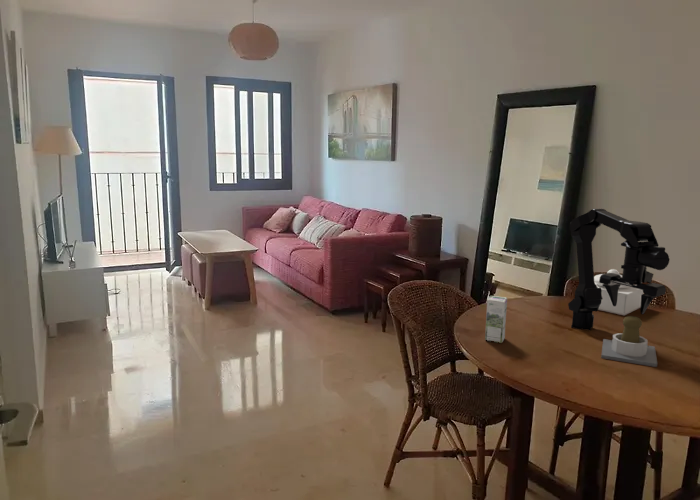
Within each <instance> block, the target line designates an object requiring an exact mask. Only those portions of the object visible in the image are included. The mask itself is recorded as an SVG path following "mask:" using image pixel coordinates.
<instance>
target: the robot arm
mask: <svg viewBox="0 0 700 500" xmlns="http://www.w3.org/2000/svg"><path fill="white" fill-rule="evenodd" d="M602 225H603V226H606V227H607V228H610V229H611V230H613V231H617V232H618V233H619V235H620V237H622V238H623V239H624V240H625V241H623V242H621V243H620V246H621V247H625V252H624V258H623V259H624V261H623V264H622V265H621V266H620V269H622V274H620V275H622V277H621V276H620V275H618V274H614V273H607V272H605V273H601V274H602V275H601V276H600V280H599V282H600V283H603V286H604V287H605V288H606V290H607V292H608V294H609V296H610V299H611V302H612V304H613V306H616V304H617V297H618V289H619V287H620V285H625V286H629V287H633V288H637V289H641V290H643V294H642V295H641V307H640V308H639V309H640V315H644V314H646V313H645V312H646V311H647V309H648V307H649V305H650V304H651V302H652V301H653V300H654V299H655V298H658V297H660V296H664V295H666V290H667V288H666V287H665V285H664V284H660V283H655V282H652V280H653V278H654V273H652V272H650V271H647V268H650V269H654V270H657V271H663V270H665V269H666V268H668V265H669V263H670V258H669V257H670V255H669V254H668V253H667V252H666V247H664V246H659V242H658V240H657V238H656V235H655V234H654V231H653V229H652V225H651V224H650V223H648V222H643V221H637V220H630V219H627V218H624V217H621V216H619V215H617V214H614V213H613V212H610V211H608V210H606V209H605V208H592V209H590V210H588V212H585V213H583V214H581V215H580V216H577V217H575V218H573V219H571V221H570V223H569V231H570V236H571V238H572V239H573V240H574V242H575V244H576V253H577V256H576V257H577V258H576V259H577V272H578V285H577V287H576V289H575V290H574V298H573V299H572V300H570V301H569V302H568V304H567V306H568V310H570V311H571V312H572V321H571V328H572V329H578V330H585V331H591V330H592V328H593V327H594V321H595V320H594V319H595V315H594V314H593V313H594V312H598V311H599V310H598V308H599V306H600V304H601V299H602V295H601V292H602V290H601V288H598V287H597V286H596V284H595V283H594V276H595V273H594V260H593V259H594V257H593V240H594V239H595V237H596V235H597V229H598V228H599V227H601V226H602Z"/></svg>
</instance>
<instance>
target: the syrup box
mask: <svg viewBox="0 0 700 500" xmlns="http://www.w3.org/2000/svg"><path fill="white" fill-rule="evenodd" d="M486 301H487V302H486V316H485V318H486V319H485V333H484V335H485V336H484V341H485V340H487V342H491V341H494V342H493V343H498V342H499V344H502V343H503V342H504V340H505V337H506V320H507V310H508V309H507V308H508V307H507V306H508V297H505V296H498V295H495V296H494V295H489V296H488V298H487V300H486Z"/></svg>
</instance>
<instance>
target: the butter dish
mask: <svg viewBox="0 0 700 500" xmlns="http://www.w3.org/2000/svg"><path fill="white" fill-rule="evenodd" d="M606 273H614V274H618V275H620V276H621V277H622V274H621V273H620V272H619V271H618V270H617V269H616V268H611V269H609V270H608V271H606ZM602 274H603V273H600V274H596V275H594V283H595V284H596V286H597V287H598V288H601V290H602V292H601V295H602V299H601V304H600V306H599V308H598V311H603V312H607V313H611V314H615V315H616V314H617V315H619V316H626V315H628V314H630V313H632V312H634V311H636V310H639V309H641V295H642V294H644V292H643V290H641V289H637V288H633V287H629V286H625V285H620V287H619V289H618V297H617V304H616V306H613V304H612V302H611V299H610V296H609V294H608V292H607V290H606V288H605V287H604V286H603V283H600V282H599V280H600V276H601V275H602Z"/></svg>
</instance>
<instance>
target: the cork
mask: <svg viewBox="0 0 700 500" xmlns="http://www.w3.org/2000/svg"><path fill="white" fill-rule="evenodd" d="M641 319H642V318H640V317H638V316H634V315H627V316H626V315H625V317H624V318H623V320H622V324H623V326H624V327H623V331H622V333H623V334H622V337H621V341H625V342H630V343H640V338H639V336H640V328H642V324H643V321H642V320H641Z"/></svg>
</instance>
